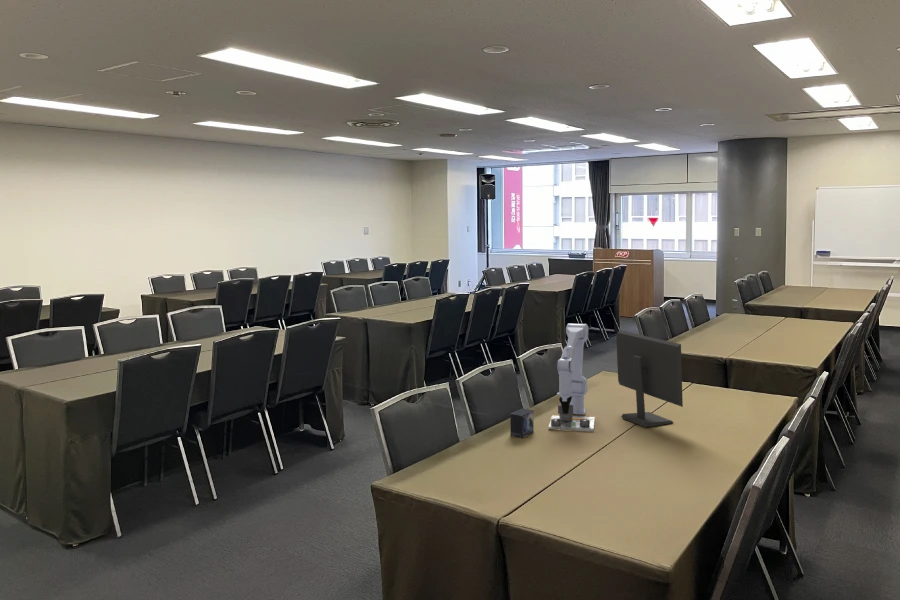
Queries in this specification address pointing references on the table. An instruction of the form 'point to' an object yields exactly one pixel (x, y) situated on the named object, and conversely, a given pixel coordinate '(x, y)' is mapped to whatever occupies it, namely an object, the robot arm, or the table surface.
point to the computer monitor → (649, 373)
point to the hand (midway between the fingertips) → (565, 412)
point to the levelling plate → (578, 428)
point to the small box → (521, 423)
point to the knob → (566, 416)
